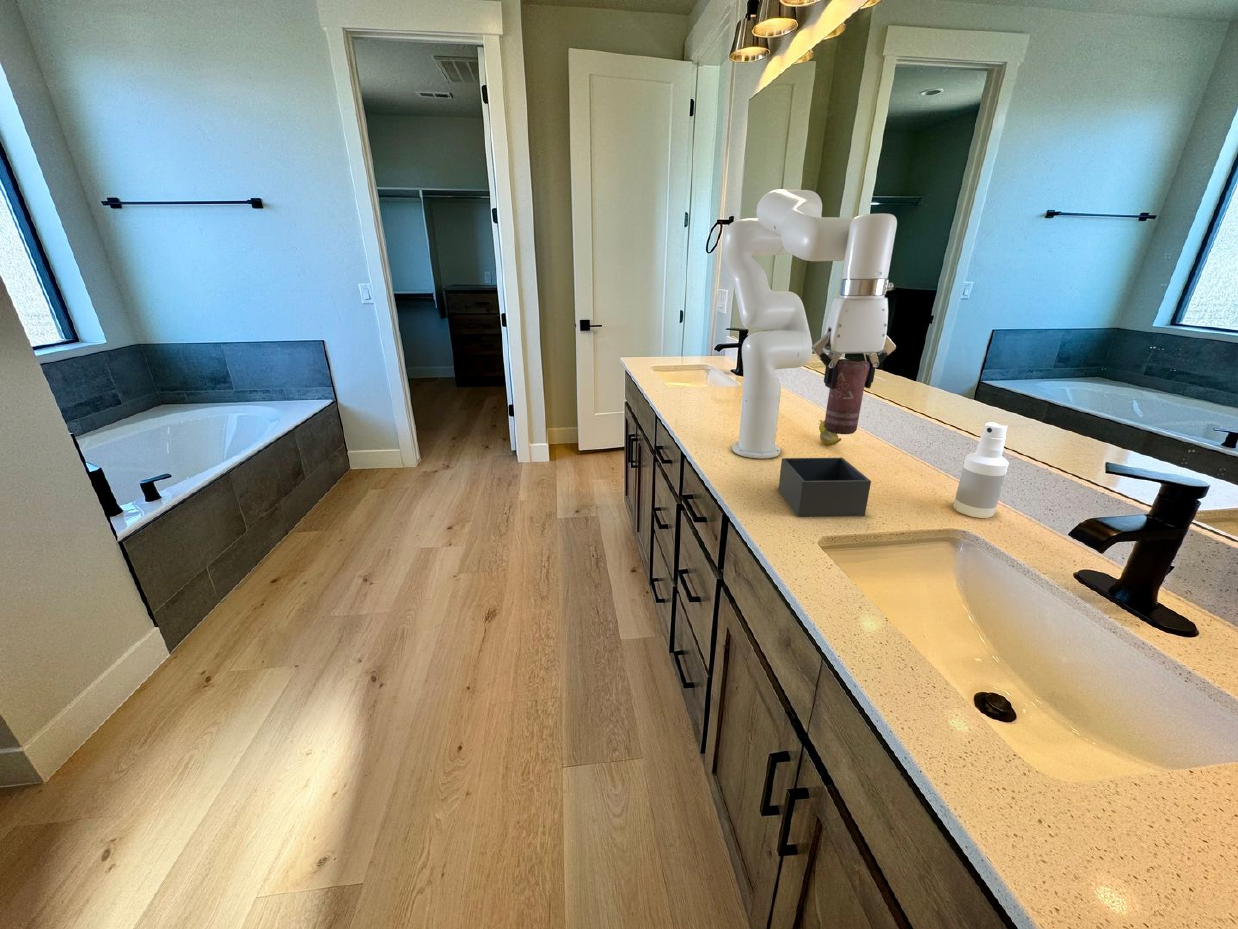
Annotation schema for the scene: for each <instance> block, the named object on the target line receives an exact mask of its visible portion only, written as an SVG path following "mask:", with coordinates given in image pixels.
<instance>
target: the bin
mask: <svg viewBox="0 0 1238 929" xmlns="http://www.w3.org/2000/svg"><path fill="white" fill-rule="evenodd" d="M780 461H781V463H780V471H779V479H778V491H779V493H780V494H781V496H783V498H784V500H785V501H786V502H787V503H788V504H789V506H790V507H791V508H792V510H793V512H794V513H795V515H796V516H797V517H798V518H799V517H800V518H801V517H806V518H807V517H865V516H866V512H867V506H868V501H869V496H870V495H869V494H870V490H871V489H870V488H871V485H872V481H871V480H870V479H869V477H867V476H866V475H865V474H863V473H862V472H861V471H860V470H858V469H857V468H856V467H855V466H853V465H852V464H851V463H850V462H848V461H847V460H846V459H845V458H844V457H841V456H840V457H783V458H781V460H780Z"/></svg>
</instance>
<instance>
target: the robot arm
mask: <svg viewBox="0 0 1238 929" xmlns="http://www.w3.org/2000/svg"><path fill="white" fill-rule="evenodd" d="M822 214H823V202H822V199H821V197H820V196H819V194H818V193H817V192H816V191H813V190H809V189H786V188H785V189H783V188H782V189H773V190H771V191H768V192H767V193H765V194H764V195H763V196H762V197H761V198H760V199H759V201H758V203H757V204H756V217H755V218H753V217H751V218H740V219H737V220H734V221H733V222H730V223H729V224H728V225H727V226H726V228H725V230H724V232H723V235H722V239H721V240H722V241H721V254H722V260H723V263H724V266H725V269H726V272H727V273H728V276H729V277H730V280H731V282H732V286H733V290H734V295H735V299H736V304H737V307H738V308H737V309H738V314H739V317H740V322H741V323H742V326H743V327H744V328H745V329H746V330H750V331H757V332H753V333H751V334H749V335H748V336H747V337H746V338H745V339H744V340H743V343H742V345H741V359H742V370H743V372H742V374H743V376H742V377H743V379H742V380H743V382H742V396H741V409H740V419H739V420H740V421H739V433H738V434H739V435H738V441H736V442H734V443H733V445H732V451H733V453H735V454H737V455H739V456H741V457H745V458H749V459H759V460H762V459H772V458H776V457H778V456H780V454H781V451H782V449H781V447H780V446H779V445H778V444H776V441H777V440H776V439H777V431H778V421H779V412H780V403H781V393H782V386H781V382H780V380H779V379H778V377H777V375H776V373H775V371H776V370H784V369H785V370H786V369H797V368H802V367H804V366H807V365H808V363H809V362H810V360H811V359H812V356H813V353H814V354H815V355H816V356H817V358H818V359H819V360H820V361H821V362H822V364H823V365H824V366H825V367H824V368H825V369H824V376H823V383H824V386H825V387H827V388H828V389H829V390H830V389H834V388H835V384H836V378H837V371H838V369H837V368H835V367H836V364H837V362H838V360H839V359H841V356H843V354H847V355H848V354H863V356H864V357H863V358H864V361H867V362H868V363H869V373H868V377H867V380H866V381H865V386H864V389H865V388H866V389H871V387H872V384H873V382H874V379H875V373H876V368H878V367H880V364H881V363H882V362H883V361H885V359H887V358H888V356H889V355H890V354H892V352H894V351H895V350H896V348H897V345H896V344H895V343H894V342H893V341H892V339H891V338H890V337H889V336H888V335H887V332H888V322H889V299H888V297H886V295H887V292H888V291H893V288H894V283H893V282H889V272H890V267H891V261H892V255H893V249H894V244H895V238H896V232H897V227H898V220H897V217H896V216H895V215H894V214H891V213H865V214H861V215H857V216H855V217H839V216H837V217H836V216H823V215H822ZM787 253H789V254H791V255H793V256H794V257H796V258H798V259H800V260H802V261H806V262H807V261H808V262H843V268H842V275H841V280H840V281H841V282H840V290H839V297H834V298H833V300H832V303H831V306H830V309H829V313H828V317H827V321H826V325H825V329H824V333H823V334H824V335H823V336H822V337H821V338H819V339H818V340H817V341H816V342H815V343H814V344H813V340H812V336H811V331H810V326H809V322H808V318H807V314H806V309H805V307H804V303H803V301H802V299H801V298H800V296H799V295H798V294H797V293H795V292H794V291H789V290H776V291H775V290H773V289H771V287H770V284H769V280H768V276H767V273H766V271H765V270H764V268H763V267H762V265H761V264H760V263H758V261H757V260H755V259H754V257H753V256H780V255H784V254H787ZM824 350H826V351H829V352H828V353H826V352H825V351H824Z"/></svg>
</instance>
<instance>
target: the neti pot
mask: <svg viewBox="0 0 1238 929" xmlns="http://www.w3.org/2000/svg"><path fill="white" fill-rule="evenodd" d="M818 421H819V422H820V423H819V426H818V430H819V432H820V434H819V439H820V441H821V443H822V444H824V445H826V446H835V445H837V444H838V443H840V442H841V441H842V439H843V438H841V437H839V434H836V433H831V432H828V431H827V430H826V429H825V427H824V422H825V419H824V420H822V419H819V420H818Z"/></svg>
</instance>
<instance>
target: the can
mask: <svg viewBox="0 0 1238 929" xmlns="http://www.w3.org/2000/svg"><path fill="white" fill-rule="evenodd" d="M835 368H837V369H838V371H837V378H836V384H835V388H834V389H830V388H829V389H828V390H829V391H828V397H827V404H826V411H825V417H824V420H825V422H824V427H825V429H826V430H827V431H828V432H831V433H836V434H837V435H853V434H855V433H856V431H857V430H858V424H859V419H860V418H859V417H860V413H861V407H862V402H863V396H864V391H865V387H864V386H865V381H866V380H867V377H868V373H869V363H868V362H867V361H865V360H861V359H854V358H839V360H838V362H837V364H836V367H835Z"/></svg>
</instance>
